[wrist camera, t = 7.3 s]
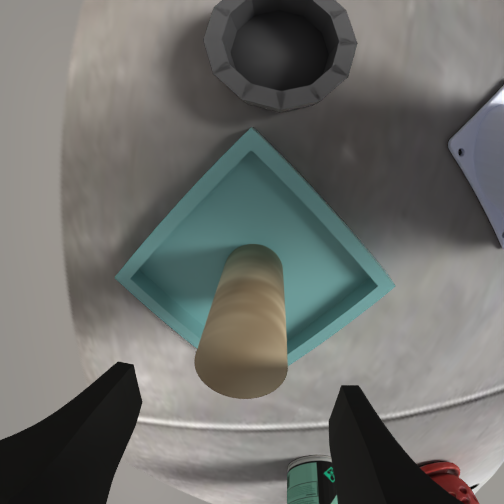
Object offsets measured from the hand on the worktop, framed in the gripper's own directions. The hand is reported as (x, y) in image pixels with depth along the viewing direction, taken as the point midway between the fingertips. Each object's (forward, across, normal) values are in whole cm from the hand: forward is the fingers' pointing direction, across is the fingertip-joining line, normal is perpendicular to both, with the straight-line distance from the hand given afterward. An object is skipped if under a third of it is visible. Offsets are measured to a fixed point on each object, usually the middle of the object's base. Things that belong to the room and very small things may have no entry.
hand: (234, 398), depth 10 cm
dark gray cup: (+10, -1, -13) cm, 17 cm away
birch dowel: (+10, 0, 0) cm, 10 cm away
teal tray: (+10, 0, 0) cm, 10 cm away
